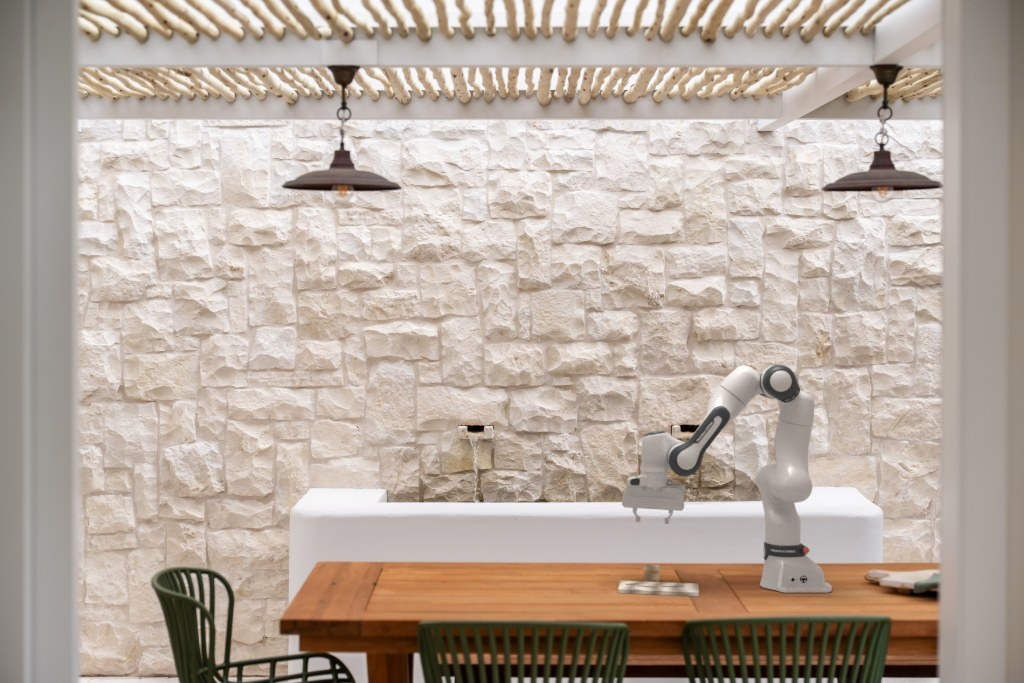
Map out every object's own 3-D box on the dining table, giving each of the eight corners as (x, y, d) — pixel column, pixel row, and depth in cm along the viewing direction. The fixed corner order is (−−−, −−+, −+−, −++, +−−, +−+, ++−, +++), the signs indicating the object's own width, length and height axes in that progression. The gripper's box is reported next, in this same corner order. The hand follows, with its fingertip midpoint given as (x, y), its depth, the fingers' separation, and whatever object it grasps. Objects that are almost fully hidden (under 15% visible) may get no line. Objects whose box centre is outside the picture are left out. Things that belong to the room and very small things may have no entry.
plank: (698, 587, 356) (698, 583, 356) (699, 596, 344) (699, 592, 344) (620, 584, 360) (620, 580, 360) (618, 593, 347) (618, 588, 347)
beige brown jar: (659, 580, 368) (659, 565, 368) (659, 586, 359) (659, 570, 359) (643, 579, 368) (643, 564, 368) (643, 585, 359) (643, 570, 359)
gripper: (686, 481, 365) (684, 523, 365) (624, 477, 369) (622, 519, 369) (685, 483, 359) (684, 526, 359) (622, 479, 363) (620, 522, 363)
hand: (652, 522), depth 364 cm, fingers open, 8 cm apart
